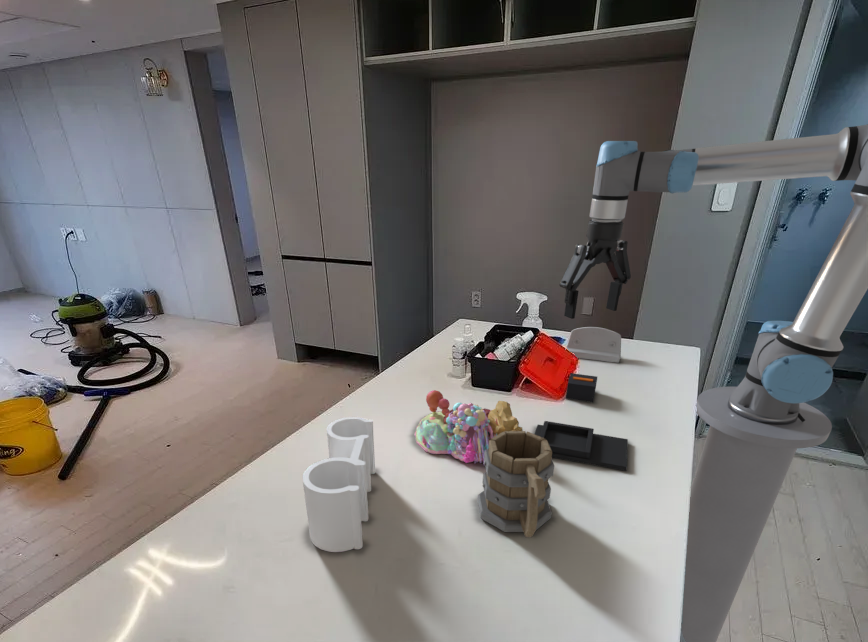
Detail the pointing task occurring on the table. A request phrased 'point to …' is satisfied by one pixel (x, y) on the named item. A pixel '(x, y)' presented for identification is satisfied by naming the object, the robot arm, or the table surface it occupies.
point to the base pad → (584, 445)
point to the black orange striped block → (581, 387)
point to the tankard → (516, 482)
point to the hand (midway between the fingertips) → (590, 313)
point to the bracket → (341, 486)
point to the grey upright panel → (595, 344)
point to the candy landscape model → (462, 428)
